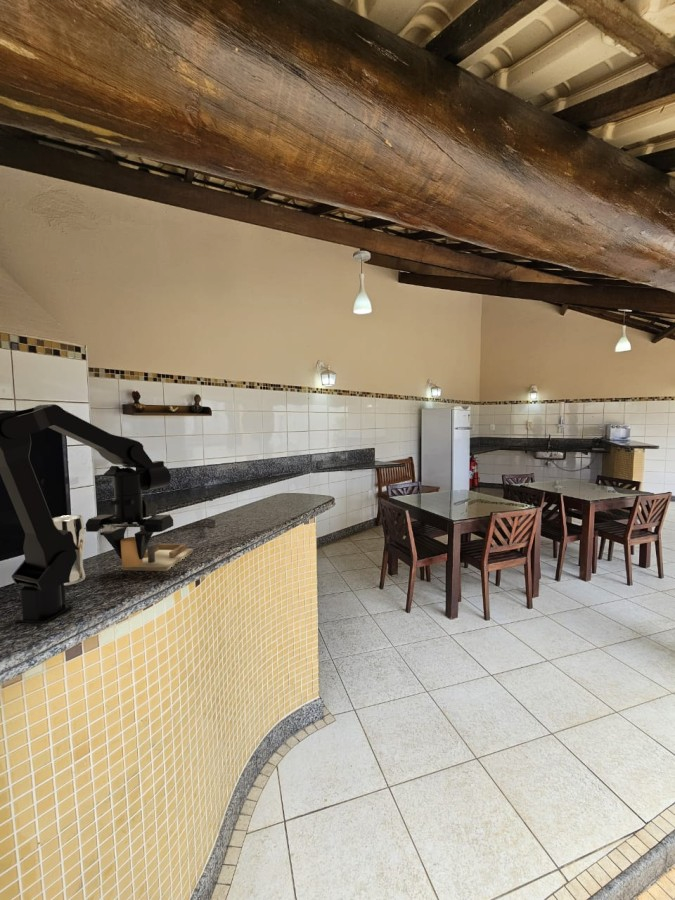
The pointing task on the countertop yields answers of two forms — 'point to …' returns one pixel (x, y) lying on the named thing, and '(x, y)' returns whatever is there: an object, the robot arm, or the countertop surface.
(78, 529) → the silver tall piece
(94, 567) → the countertop surface
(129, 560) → the orange rounded capsule
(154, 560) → the hook board
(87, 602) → the countertop surface
